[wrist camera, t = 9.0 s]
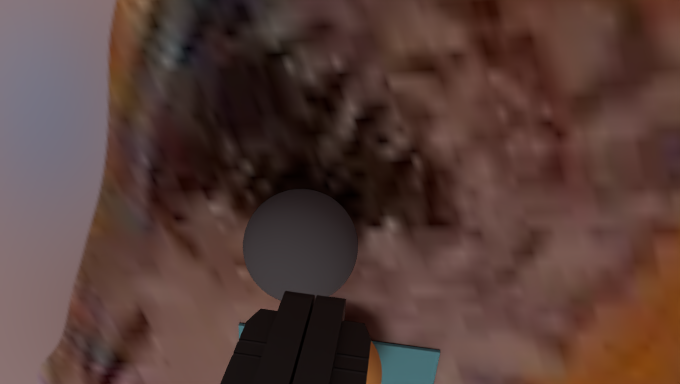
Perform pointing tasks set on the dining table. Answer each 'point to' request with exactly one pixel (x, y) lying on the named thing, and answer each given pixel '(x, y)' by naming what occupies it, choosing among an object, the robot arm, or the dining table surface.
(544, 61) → the dining table surface
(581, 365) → the dining table surface
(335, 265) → the gray ball
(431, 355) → the teal mark
